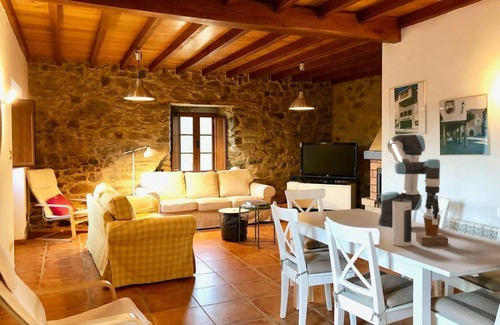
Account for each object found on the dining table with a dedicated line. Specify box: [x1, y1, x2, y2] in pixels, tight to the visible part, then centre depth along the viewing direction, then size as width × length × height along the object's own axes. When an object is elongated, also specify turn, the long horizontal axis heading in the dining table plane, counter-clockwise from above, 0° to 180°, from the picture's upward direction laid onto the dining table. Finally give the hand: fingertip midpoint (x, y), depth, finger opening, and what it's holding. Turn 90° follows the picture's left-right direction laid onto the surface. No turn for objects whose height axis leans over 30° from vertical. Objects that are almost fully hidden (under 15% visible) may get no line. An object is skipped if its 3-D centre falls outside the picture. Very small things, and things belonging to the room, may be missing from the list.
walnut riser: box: [415, 231, 449, 248], centre depth 239 cm, size 14×14×5 cm
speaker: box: [392, 199, 412, 248], centre depth 236 cm, size 11×10×26 cm
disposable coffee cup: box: [422, 212, 442, 236], centre depth 238 cm, size 10×10×12 cm
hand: (431, 222), depth 238 cm, fingers open, 13 cm apart
